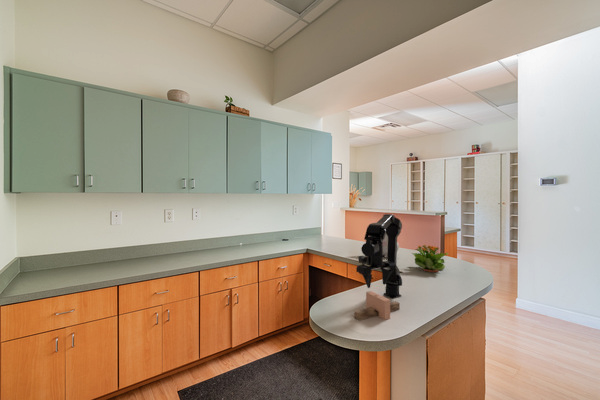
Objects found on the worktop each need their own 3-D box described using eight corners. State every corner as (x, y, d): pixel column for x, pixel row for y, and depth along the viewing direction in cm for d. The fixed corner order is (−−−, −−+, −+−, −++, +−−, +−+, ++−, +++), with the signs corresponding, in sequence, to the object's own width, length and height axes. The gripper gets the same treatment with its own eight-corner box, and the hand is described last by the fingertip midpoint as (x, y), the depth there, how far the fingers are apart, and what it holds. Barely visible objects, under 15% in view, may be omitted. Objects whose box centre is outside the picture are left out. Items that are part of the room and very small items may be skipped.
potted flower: (454, 276, 174) (455, 249, 174) (415, 275, 179) (415, 248, 179) (442, 266, 199) (442, 242, 198) (408, 265, 204) (408, 241, 203)
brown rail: (395, 307, 129) (395, 301, 129) (399, 309, 127) (399, 302, 127) (354, 318, 118) (354, 311, 118) (358, 320, 116) (358, 313, 116)
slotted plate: (371, 307, 128) (371, 291, 128) (390, 318, 118) (390, 299, 118) (366, 309, 127) (366, 292, 127) (384, 319, 116) (384, 301, 116)
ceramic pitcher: (372, 259, 228) (372, 229, 225) (372, 252, 247) (372, 225, 244) (399, 260, 223) (400, 230, 220) (397, 253, 242) (397, 225, 239)
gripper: (379, 246, 135) (379, 277, 136) (348, 250, 127) (348, 284, 127) (396, 250, 125) (396, 284, 126) (364, 255, 117) (364, 292, 117)
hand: (376, 286), depth 124 cm, fingers open, 9 cm apart
